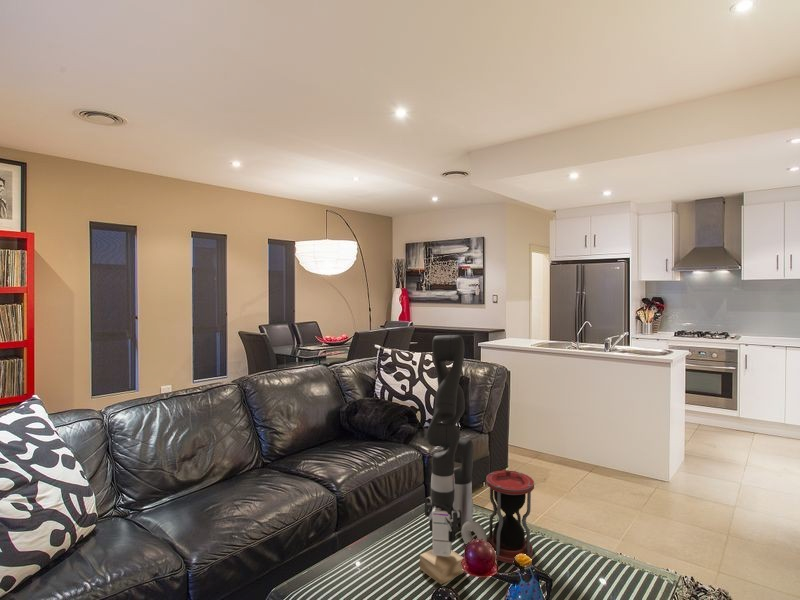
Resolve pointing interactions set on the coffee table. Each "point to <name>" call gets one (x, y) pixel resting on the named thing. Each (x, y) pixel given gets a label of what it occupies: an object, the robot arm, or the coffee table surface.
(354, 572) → the coffee table surface
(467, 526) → the donut
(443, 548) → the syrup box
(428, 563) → the oak block
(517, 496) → the hourglass
